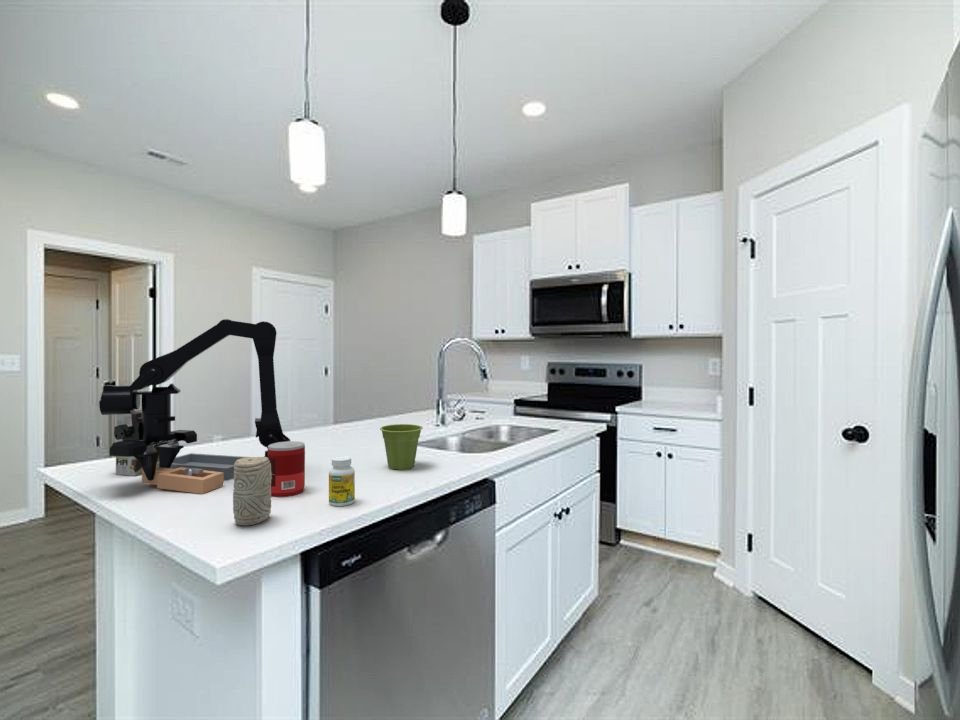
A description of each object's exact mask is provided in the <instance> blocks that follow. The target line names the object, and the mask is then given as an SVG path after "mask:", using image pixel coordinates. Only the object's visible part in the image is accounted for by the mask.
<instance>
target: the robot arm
mask: <svg viewBox="0 0 960 720" xmlns="http://www.w3.org/2000/svg"><path fill="white" fill-rule="evenodd" d="M229 336H233V337H239V338H240V337H241V338H247V339H251V340H252V341H253V344H254V349H255V351H256V352H255V353H256V354H257V355H256V356H257V358H258V361H257V362H258V374H259V377H258V378H259V390H260V391H259V392H260V405H261V414H260V418H259V417H258V418H257V417H255V419H254V424H255V428H256V431H255V438H258V441H259V443H260V444H261V445H262V446H263V447H265V448H266V449H267V450H264V456H263V457H267V458H268V446H269V445H270V444H273V443H278V442H287V441H291V439H290V438H289V437H288V436H287V435H286V434H284V433H283V429H282V428H283V427H282V425H281V421H280V417H279V414H278V409H277V408H278V407H277V395H276V394H277V393H276V380H275V379H276V378H275V365H274V363H275V362H274V356H275V347H276V342H277V341H276V339H277V329H276V327H275V326H274V324H272V323H270V322H268V321H263V320H262V321H258V322H257V323H251V322H245V321H236V320H232V319H228V318H224V319H222V320H220V321H218V323H217V324H215V325H213V326H212V327H209V329H207V330H206V331H204V332H203V333H201V334H199V335H198V336H196V337H194V338H193V339H191V340H190V341H188V342H187V343H185V344H184V345H182V346H180V347H178V348H176V350H173V351H171V352H168V353H166V354H163V355H161V356H158V357H155V358H153V359H151V360H148V361H146V362H144V363H143V364H142V365H141V366H140V367H139V373H138V376H137V378H136V379H135V380H134V381H132V382H131V384H130V385H114V384H105V385H103V386H102V392H101V394H100V395H101V396H100V400H99V402H98V404H99V405H98V406H99V412H100V414H101V416H102V415H103V416H111V415H112V416H113V415H114V416H116V415H117V414H133V413H134V411H136V410H139V409H140V406H141V410H142V418H137V420H136V425H134V426H130V427H128V426H127V425H126V424H123V425H118V426H116V425H115V426H114V431H113V435H114V438H115V440H116V439H117V440H120V439H122V441H120V442H116V441H115V442H112V444H111V445H110V446H109V456H110V457H111V456H112V457H116V456H124V457H132V456H134V457H135V458H136V459H137V460H138V461H139V463H140V464H141V466H142V468H143V471H144V473H145V475H146V477H147V479H148V480H150V481H151V480H153V478H154V475H155V470H156V465H157V460H158V454H159V467H163V468H170V467H171V465H172V463H173V461H174V459H175V458H176V457H178V455H179V453H180V451H181V450H182V449H183V448H185V447H184V446H185V445H181V444H180V443H179V442H182V441H183V442H185V443H186V444H192V443H195V442H196V443H197V442H198V434H197V432H196V431H195V430H190V429H189V430H188V429H178V430H172V422H175V421H176V416H175V415H172V404H171V403H172V399H171V398H172V395H173V394H174V395H177V394H180V393H181V389H180V388H178V387H177V386H176V385H175V384H174V383H170V384H169V385H168V386H157V385H161V384H164V383H166V382H168V381H170V379H171V378H173V377H174V376H175V375H176V374H177V373H178V372H180V370H181V369H182V368H183V367H184V366H186V364H188V362H190V361H191V360H193V359H194V358H196V357H198V356H200V355H201V354H203V353H204V352H205V351H208V349H210V348H212V347H213V346H215V345H216V344H218V343H220V342H221V341H223V340H225V339H226V338H227V337H229ZM151 386H153V387H152V389H151V390H146V391H145V390H144V389H146V388H149V387H151ZM141 390H144V391H141ZM139 440H142V441H139ZM155 446H156V447H155ZM154 447H155V449H156V450H157V452H154Z"/></svg>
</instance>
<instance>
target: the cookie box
mask: <svg viewBox="0 0 960 720" xmlns="http://www.w3.org/2000/svg"><path fill="white" fill-rule="evenodd" d="M115 416H116V417H115V418H116V419H115V420H116V423H115V426H118V425H123V424H126V425H127V426H128V427H130V426H134V425H136V420H137V418H142V409H140V410H139V409H136V410H134V413H133V414H117V415H115ZM120 441H122V439H120V440H117V439H115V442H120ZM139 441H142V440H139ZM155 447H156V446H155ZM155 447H154V452H157V450H156V449H155ZM157 462H159V454H158V460H157ZM142 469H143V468H142V466H141V464H140V463H139V461H138V460H137V459H136V458H135V457H134V456H132V457H124V456H115V475H118V476H119V475H120V476H121V475H122V476H128V477H130V476H131V477H136V476H140V475H142Z"/></svg>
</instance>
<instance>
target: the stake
mask: <svg viewBox="0 0 960 720" xmlns="http://www.w3.org/2000/svg"><path fill="white" fill-rule="evenodd" d="M184 474H186V475H187V476H195V477H196V474H198V475H199V474H203V469H196V468H187V469H184Z"/></svg>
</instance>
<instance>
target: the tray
mask: <svg viewBox="0 0 960 720" xmlns="http://www.w3.org/2000/svg"><path fill="white" fill-rule="evenodd" d="M252 457H253V456H238V455H226V454H225V455H224V454H209V453H206V454H205V453H192V452H191V453H186V454H183V455H182V454H181V455H179V456H178V455H177V456H176V458H175V459H174V461H173V463H172V465H171V467H170V468H171V469H176V468H179V467H183V468H196V469H203V470H207V471H215V472H223V473H224V479H223V481H228V480H231V478H232V479H234V470H235V469H234V463H235V462H236V461H237V460H238V459H242V458H252ZM156 467H159V462H157V465H156Z"/></svg>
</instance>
